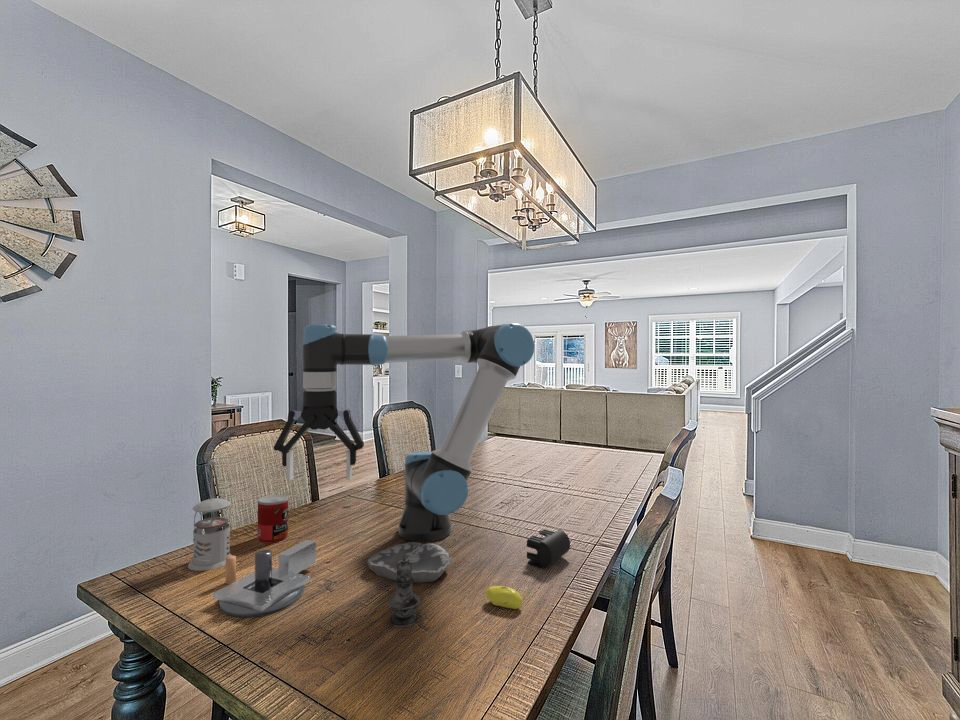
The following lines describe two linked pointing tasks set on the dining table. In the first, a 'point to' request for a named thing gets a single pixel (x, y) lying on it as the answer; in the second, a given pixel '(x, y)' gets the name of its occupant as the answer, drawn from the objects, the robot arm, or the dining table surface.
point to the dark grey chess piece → (404, 597)
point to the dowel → (230, 569)
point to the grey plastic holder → (273, 579)
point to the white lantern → (210, 534)
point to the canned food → (272, 518)
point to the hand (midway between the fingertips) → (319, 479)
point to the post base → (268, 610)
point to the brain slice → (411, 561)
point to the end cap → (547, 548)
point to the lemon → (504, 597)
